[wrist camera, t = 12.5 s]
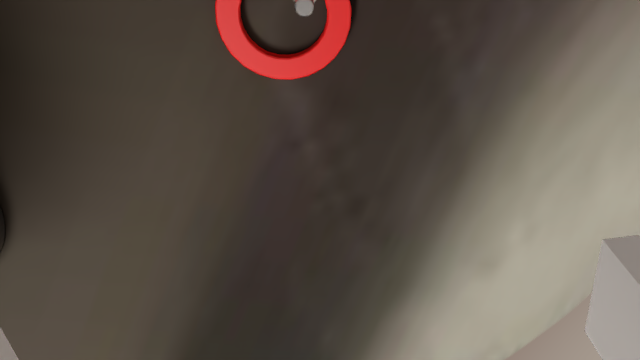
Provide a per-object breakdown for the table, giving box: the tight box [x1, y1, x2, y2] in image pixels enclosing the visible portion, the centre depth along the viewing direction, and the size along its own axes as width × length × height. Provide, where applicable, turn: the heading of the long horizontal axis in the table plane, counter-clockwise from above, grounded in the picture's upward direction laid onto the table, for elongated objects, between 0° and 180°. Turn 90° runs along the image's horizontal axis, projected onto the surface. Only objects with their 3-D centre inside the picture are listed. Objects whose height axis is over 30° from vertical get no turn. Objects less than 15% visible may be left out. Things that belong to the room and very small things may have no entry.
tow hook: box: [215, 0, 352, 80], centre depth 30 cm, size 8×13×9 cm
